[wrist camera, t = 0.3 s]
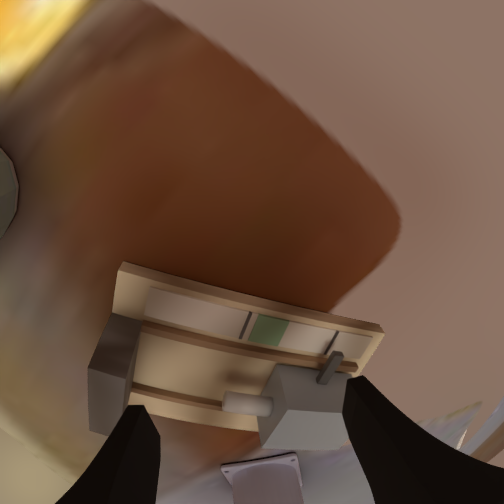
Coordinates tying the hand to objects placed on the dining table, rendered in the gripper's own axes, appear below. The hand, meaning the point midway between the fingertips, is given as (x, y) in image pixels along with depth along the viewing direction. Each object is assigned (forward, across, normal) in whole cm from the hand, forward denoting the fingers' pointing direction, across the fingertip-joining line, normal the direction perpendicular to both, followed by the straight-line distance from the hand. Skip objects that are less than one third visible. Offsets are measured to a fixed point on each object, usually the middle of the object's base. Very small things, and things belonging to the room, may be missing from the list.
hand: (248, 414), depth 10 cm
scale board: (+10, +1, +7) cm, 12 cm away
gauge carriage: (+8, -3, +7) cm, 11 cm away
